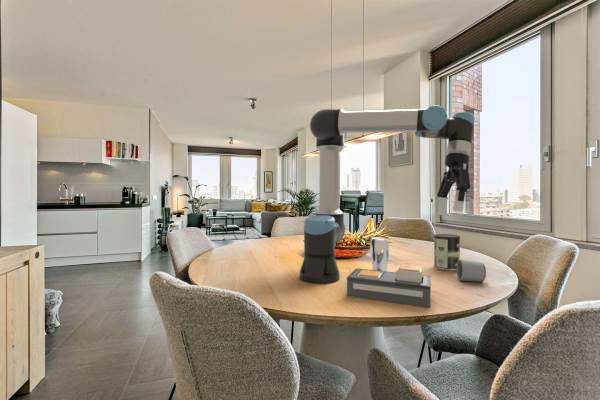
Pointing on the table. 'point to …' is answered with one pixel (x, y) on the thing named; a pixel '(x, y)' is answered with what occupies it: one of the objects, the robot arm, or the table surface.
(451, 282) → the table surface
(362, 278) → the switch console
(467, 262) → the grey cylinder
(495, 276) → the table surface
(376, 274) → the left switch
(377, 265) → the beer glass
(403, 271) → the right switch
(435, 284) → the table surface
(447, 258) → the coffee can
